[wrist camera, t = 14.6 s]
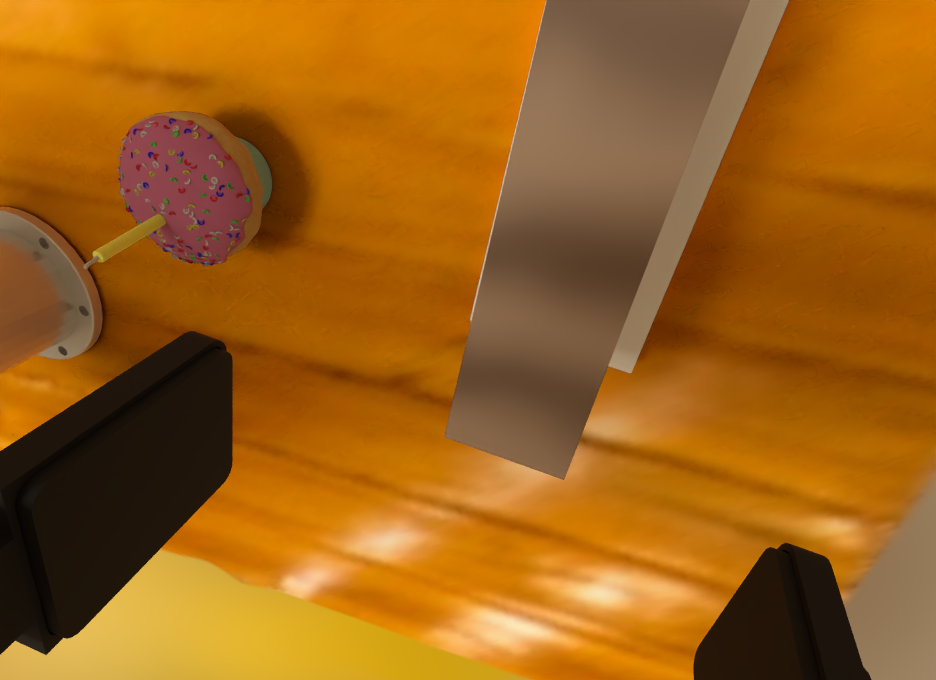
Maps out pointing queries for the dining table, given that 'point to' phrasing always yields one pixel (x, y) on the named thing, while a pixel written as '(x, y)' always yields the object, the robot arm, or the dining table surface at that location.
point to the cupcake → (190, 188)
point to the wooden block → (582, 213)
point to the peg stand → (693, 173)
